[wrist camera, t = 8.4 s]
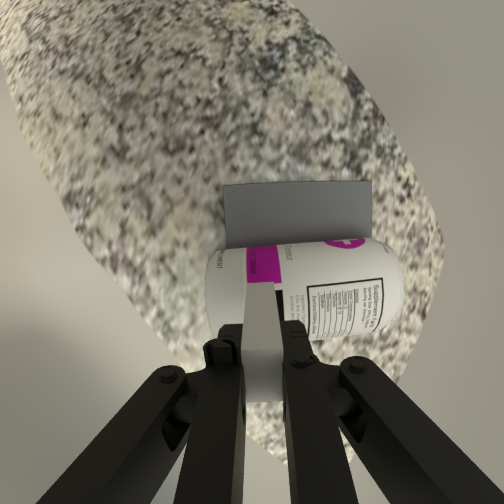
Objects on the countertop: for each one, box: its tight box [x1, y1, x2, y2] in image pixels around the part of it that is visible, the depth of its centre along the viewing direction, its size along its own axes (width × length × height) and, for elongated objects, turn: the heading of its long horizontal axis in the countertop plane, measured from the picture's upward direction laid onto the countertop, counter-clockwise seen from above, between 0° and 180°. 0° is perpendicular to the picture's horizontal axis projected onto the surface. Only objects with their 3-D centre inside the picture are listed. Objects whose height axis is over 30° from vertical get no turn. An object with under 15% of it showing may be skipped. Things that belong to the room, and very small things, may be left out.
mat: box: [223, 181, 372, 249], centre depth 27 cm, size 13×14×1 cm
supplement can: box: [205, 238, 404, 341], centre depth 23 cm, size 8×8×15 cm
